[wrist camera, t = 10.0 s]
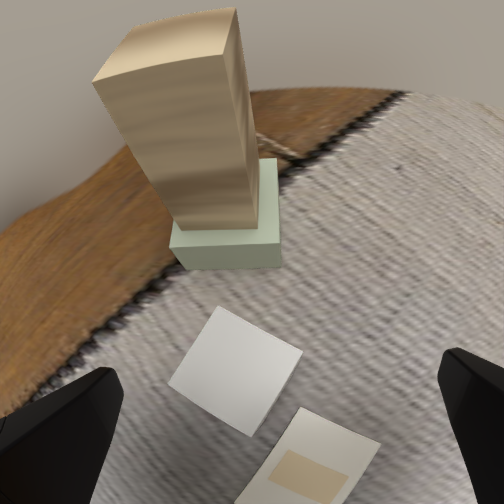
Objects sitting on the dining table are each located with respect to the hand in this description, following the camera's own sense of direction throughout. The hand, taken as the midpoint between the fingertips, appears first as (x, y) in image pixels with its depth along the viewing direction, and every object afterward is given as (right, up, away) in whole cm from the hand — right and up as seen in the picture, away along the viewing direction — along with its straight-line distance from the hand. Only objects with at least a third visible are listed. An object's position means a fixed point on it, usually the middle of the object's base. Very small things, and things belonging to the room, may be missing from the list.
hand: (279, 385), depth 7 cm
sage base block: (-2, +5, +17) cm, 18 cm away
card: (+3, -11, +8) cm, 14 cm away
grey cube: (-1, -5, +12) cm, 13 cm away
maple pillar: (-3, +7, +13) cm, 15 cm away
